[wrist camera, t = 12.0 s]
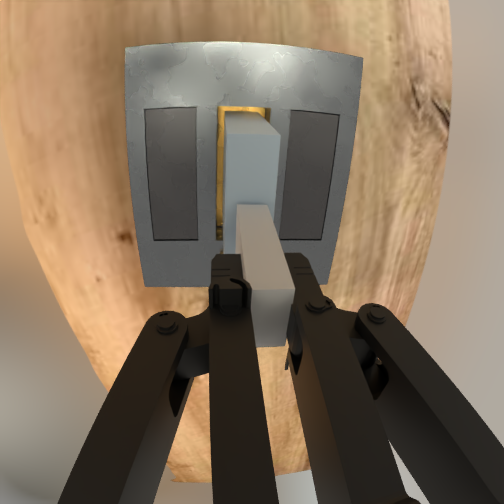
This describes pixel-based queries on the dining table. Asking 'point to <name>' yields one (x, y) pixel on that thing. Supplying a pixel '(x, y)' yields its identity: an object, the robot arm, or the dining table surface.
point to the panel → (247, 168)
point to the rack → (212, 147)
